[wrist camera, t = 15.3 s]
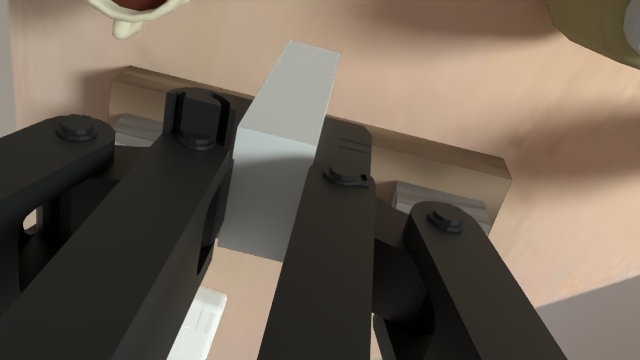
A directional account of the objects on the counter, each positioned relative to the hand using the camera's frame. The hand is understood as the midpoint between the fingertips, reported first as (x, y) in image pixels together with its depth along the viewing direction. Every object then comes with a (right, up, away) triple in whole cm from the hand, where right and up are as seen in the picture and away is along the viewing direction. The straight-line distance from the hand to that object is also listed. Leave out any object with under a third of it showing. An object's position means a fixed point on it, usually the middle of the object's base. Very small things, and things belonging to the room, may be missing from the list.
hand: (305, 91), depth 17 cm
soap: (-13, -17, +44) cm, 48 cm away
